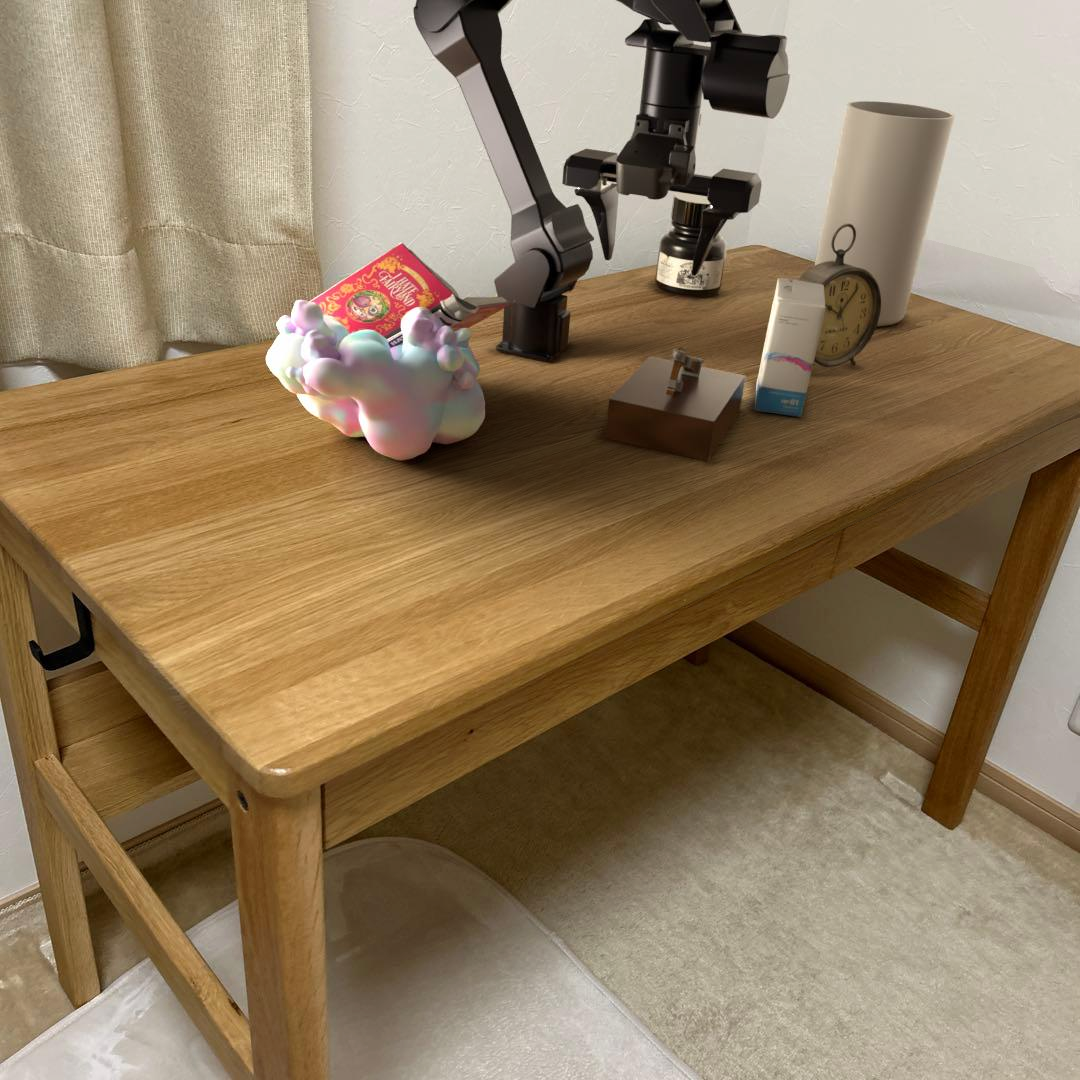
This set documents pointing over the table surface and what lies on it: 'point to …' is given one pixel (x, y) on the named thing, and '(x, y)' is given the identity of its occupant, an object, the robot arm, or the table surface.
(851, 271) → the alarm clock
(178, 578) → the table surface
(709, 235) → the robot arm
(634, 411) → the walnut block
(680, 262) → the ink bottle
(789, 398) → the ink box
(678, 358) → the grey orange jointed piece
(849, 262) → the cylinder vase
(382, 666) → the table surface
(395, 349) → the pastel bubbly cloud sculpture
